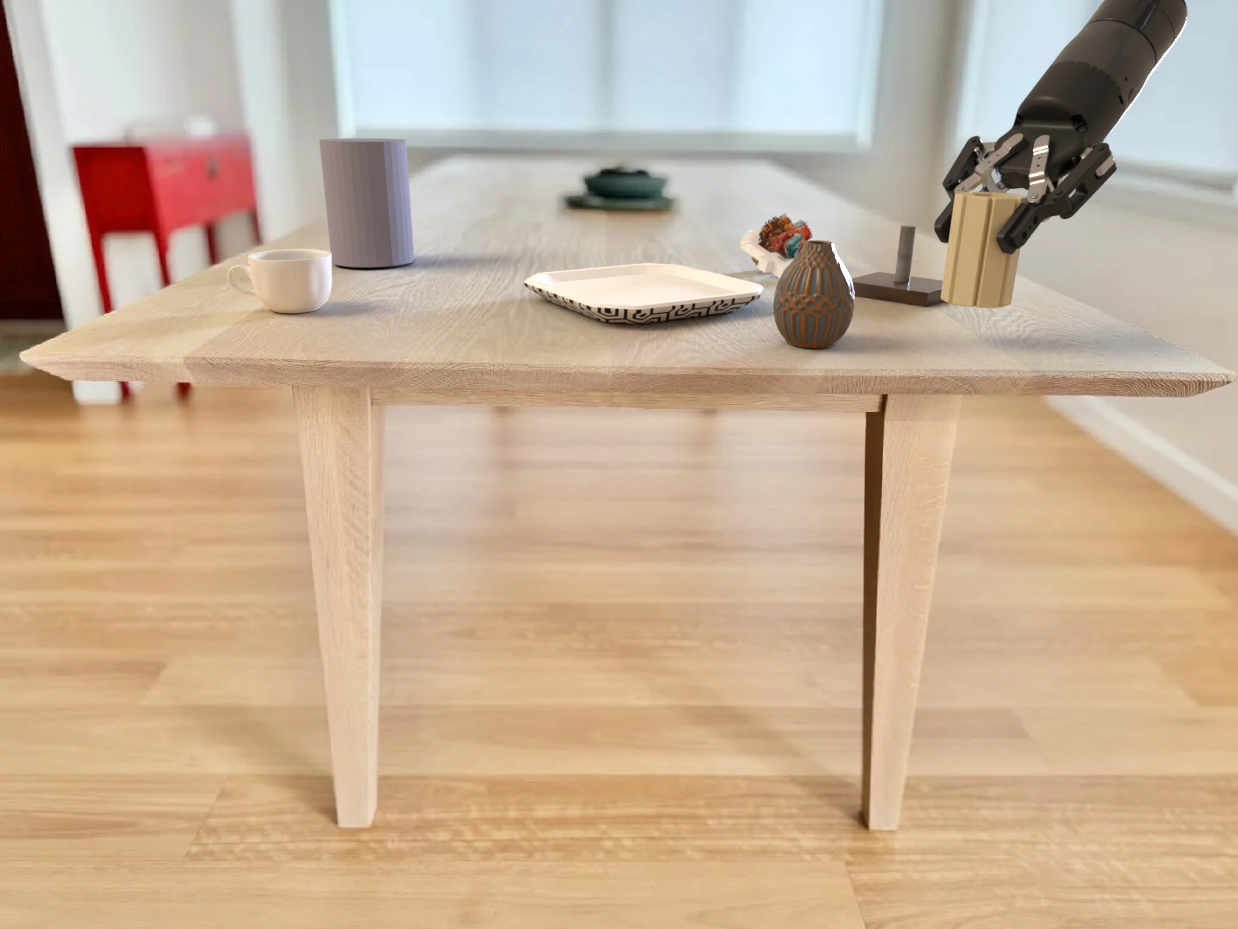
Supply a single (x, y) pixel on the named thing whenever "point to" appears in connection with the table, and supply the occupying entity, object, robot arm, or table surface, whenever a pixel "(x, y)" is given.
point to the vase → (814, 297)
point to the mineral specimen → (776, 244)
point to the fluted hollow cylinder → (980, 251)
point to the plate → (644, 292)
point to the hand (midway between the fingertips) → (971, 241)
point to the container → (367, 202)
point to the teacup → (288, 279)
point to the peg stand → (900, 279)
